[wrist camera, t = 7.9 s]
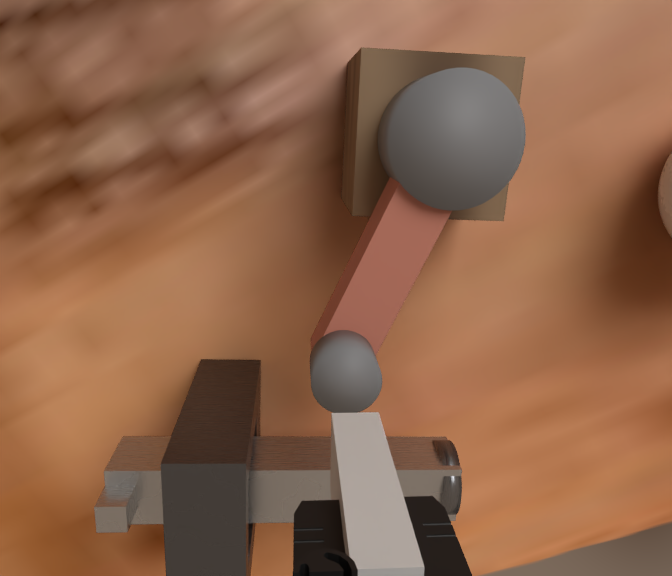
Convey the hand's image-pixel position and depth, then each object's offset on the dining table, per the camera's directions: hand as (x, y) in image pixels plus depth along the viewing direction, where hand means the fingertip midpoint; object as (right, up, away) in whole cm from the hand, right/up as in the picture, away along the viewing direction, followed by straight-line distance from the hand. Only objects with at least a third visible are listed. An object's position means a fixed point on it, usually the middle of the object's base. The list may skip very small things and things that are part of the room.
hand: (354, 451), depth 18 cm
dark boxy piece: (-8, -4, +21) cm, 23 cm away
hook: (-4, -6, +18) cm, 19 cm away
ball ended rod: (+2, +8, +11) cm, 14 cm away
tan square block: (+4, +15, +17) cm, 23 cm away
